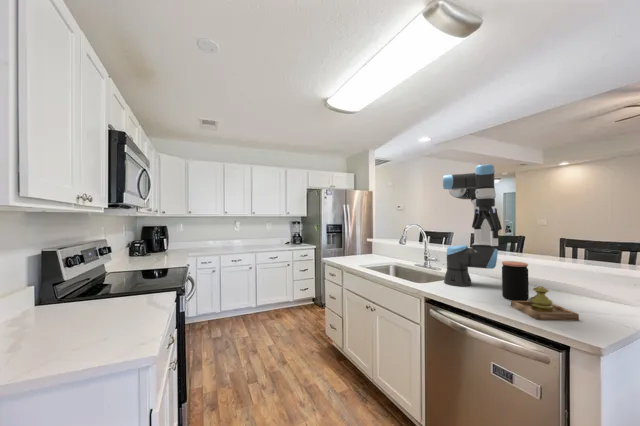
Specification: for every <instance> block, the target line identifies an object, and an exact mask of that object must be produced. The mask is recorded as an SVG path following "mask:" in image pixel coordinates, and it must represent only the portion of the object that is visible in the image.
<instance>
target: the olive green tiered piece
mask: <svg viewBox="0 0 640 426" xmlns="http://www.w3.org/2000/svg"><path fill="white" fill-rule="evenodd" d="M533 290H534V291H535V293H536V294H535V295H534V296H532V297H529V298H530V300H529V301H531V302H532V303H530V304H531V309H532V310H535V311H538V312H553V307H552V306H551V305H552V304H554V303H553V300H552V299H549V297H548V296H547V295H546V294H547V293H549V292H550V291H549V289H547V288H546V287H544V286H537V287H536V286H535V287H534V288H533Z"/></svg>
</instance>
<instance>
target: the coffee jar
mask: <svg viewBox="0 0 640 426" xmlns="http://www.w3.org/2000/svg"><path fill="white" fill-rule="evenodd" d="M501 264H502V266H501V289H502V290H501V291H502V293H501V294H502V297H503V298H504V299H505V300H507V301H510V302H511V301H529V298H530V296H529V294H530V293H529V268H528V267H529V264H528V263H527V262H523V261H515V260H514V261H513V260H506V261H505V260H504V261H501Z"/></svg>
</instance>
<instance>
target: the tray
mask: <svg viewBox="0 0 640 426" xmlns="http://www.w3.org/2000/svg"><path fill="white" fill-rule="evenodd" d="M530 303H532V302H531V301H530V300H527V301H511V300H510V307H511V306H512V307H511V308H514V309H515V310H517V311H519V312H521V313H523V314H525V315H527V316H528V317H531V318H532V319H534V320H536V321H541V320H542V321H579V320H580V314H579V313H577V312H575V311H572V310H571V309H567V308H565V307H563V306H560V305H558V304H555V303H553V304H552V305H551V306H552V307H553V312H538V311H535V310H532V309H531V304H530Z"/></svg>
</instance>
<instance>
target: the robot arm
mask: <svg viewBox="0 0 640 426" xmlns="http://www.w3.org/2000/svg"><path fill="white" fill-rule="evenodd" d="M495 172H496V171H495V165H494V164H492V163H485V164H479V165H476V166H475V172H470V173H457V174H445V175H443V177H442V187H443V189H444V190H448V192H449V193H448V194H450V196H452V197H453V198H456V199H460V200H470V203H471V204H472V205H473V221H472V224H471V228H473V231H474V232H473V233H474V241H473V242H474V243H472V244H471V247H469V245H467V244H461V245H459V244H458V245H450V246H448V247H447V248H446V254H445V255H446V271H445V275H444V277H443V283H445V284H447V285H450V286H456V287H470V286H472V279H471V276H470V273H469V268H475V269H476V268H477V269H485V270H486V269H490V270H491V269H492V270H494V269H495V268H496V266H497V262H498V253H499V252H498V251H499V250H498V249H497V248H495V247H499V231H501V230H503V229H502V228H503V227H502V224H501V222H500V218H499V216H498V215H499V214H498V209H497V208H495V206H496V195H497V194H496V188H495ZM493 207H494V208H493Z"/></svg>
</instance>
